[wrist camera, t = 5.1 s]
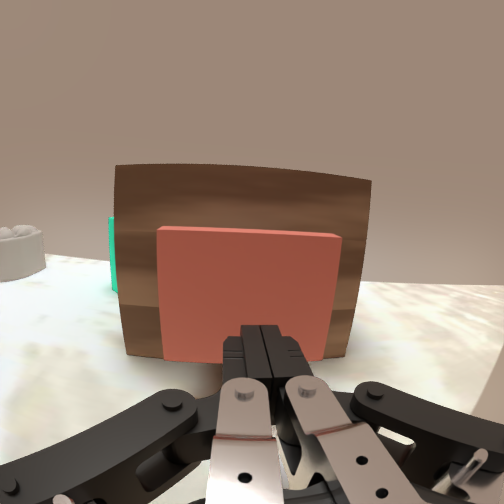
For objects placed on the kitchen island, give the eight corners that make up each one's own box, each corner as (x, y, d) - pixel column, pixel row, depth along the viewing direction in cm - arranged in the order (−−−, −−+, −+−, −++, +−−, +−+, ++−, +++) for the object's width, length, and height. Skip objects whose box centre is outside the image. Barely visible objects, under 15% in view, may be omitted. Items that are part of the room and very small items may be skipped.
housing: (344, 356, 23) (371, 180, 20) (126, 354, 21) (115, 165, 18) (309, 307, 35) (322, 183, 32) (155, 303, 33) (154, 174, 29)
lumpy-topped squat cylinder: (51, 266, 43) (48, 222, 41) (9, 285, 30) (3, 233, 28) (22, 262, 43) (18, 222, 41) (-18, 278, 30) (-24, 232, 28)
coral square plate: (322, 360, 16) (342, 237, 15) (164, 360, 15) (156, 229, 13) (290, 304, 25) (298, 219, 24) (183, 301, 24) (183, 214, 23)
